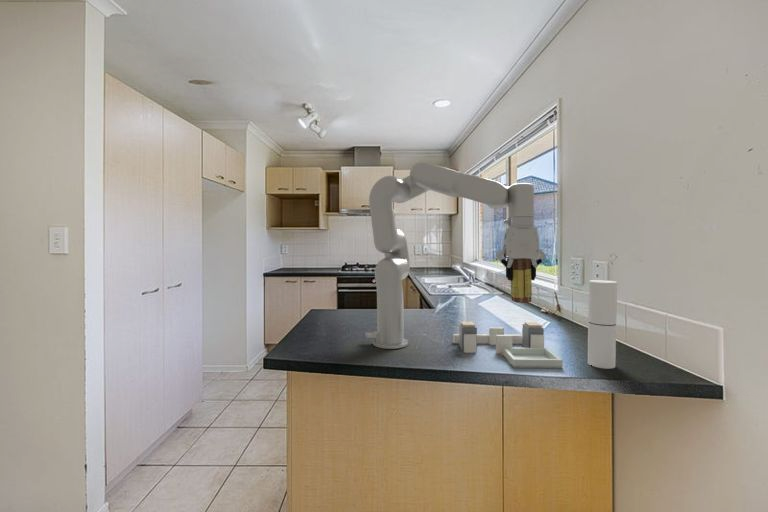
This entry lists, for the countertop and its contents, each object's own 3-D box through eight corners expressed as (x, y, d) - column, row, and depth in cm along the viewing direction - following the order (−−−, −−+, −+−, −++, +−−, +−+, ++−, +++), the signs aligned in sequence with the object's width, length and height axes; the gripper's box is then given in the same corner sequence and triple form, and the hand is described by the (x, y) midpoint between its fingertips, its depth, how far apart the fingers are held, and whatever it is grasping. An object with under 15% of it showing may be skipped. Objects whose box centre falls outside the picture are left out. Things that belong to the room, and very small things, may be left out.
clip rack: (459, 355, 119) (459, 328, 118) (453, 342, 134) (453, 318, 134) (553, 356, 117) (554, 329, 116) (536, 342, 132) (536, 318, 132)
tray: (513, 367, 106) (513, 359, 106) (502, 355, 118) (502, 347, 118) (562, 368, 106) (562, 360, 106) (546, 355, 118) (546, 347, 118)
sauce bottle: (528, 300, 119) (529, 239, 118) (534, 303, 112) (535, 239, 112) (507, 300, 119) (508, 239, 118) (512, 303, 113) (513, 239, 112)
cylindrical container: (584, 364, 109) (585, 281, 108) (591, 358, 114) (593, 279, 113) (611, 370, 104) (613, 283, 103) (618, 364, 109) (619, 281, 108)
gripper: (496, 223, 111) (496, 281, 112) (553, 222, 111) (553, 281, 111) (490, 224, 119) (490, 279, 119) (544, 223, 118) (543, 278, 119)
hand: (520, 279), depth 115 cm, fingers closed on sauce bottle, 6 cm apart
